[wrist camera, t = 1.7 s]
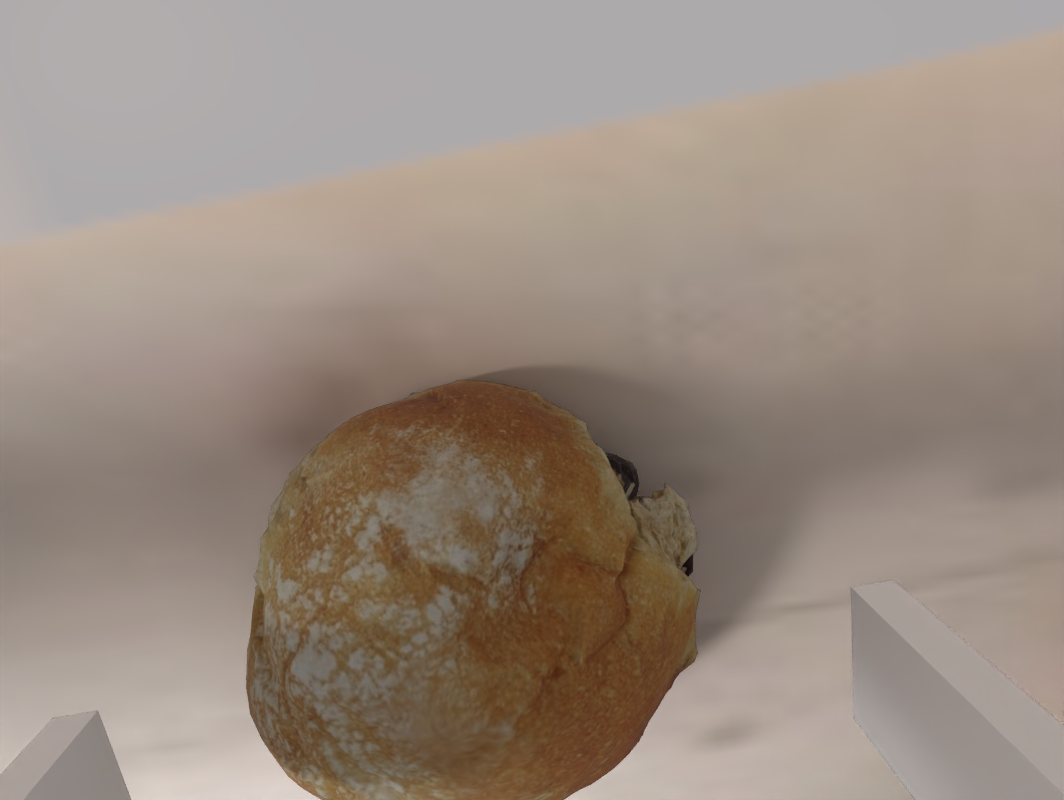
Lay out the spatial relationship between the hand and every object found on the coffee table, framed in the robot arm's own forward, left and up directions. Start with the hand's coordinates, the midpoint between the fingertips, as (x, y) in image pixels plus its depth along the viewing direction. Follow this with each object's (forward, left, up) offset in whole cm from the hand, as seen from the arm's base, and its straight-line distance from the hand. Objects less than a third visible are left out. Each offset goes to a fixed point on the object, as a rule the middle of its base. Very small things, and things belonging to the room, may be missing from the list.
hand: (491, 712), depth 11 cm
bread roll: (0, 0, -6) cm, 6 cm away
